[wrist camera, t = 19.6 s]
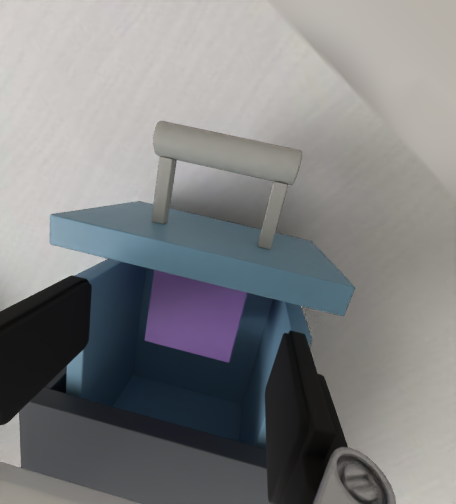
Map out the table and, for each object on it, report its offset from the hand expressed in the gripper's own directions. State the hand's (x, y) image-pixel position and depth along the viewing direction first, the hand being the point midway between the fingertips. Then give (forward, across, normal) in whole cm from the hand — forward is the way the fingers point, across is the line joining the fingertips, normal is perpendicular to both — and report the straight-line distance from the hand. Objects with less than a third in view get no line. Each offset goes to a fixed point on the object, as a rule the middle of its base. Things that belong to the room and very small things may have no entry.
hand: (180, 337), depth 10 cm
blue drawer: (+7, 0, +1) cm, 8 cm away
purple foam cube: (+6, 0, 0) cm, 6 cm away
